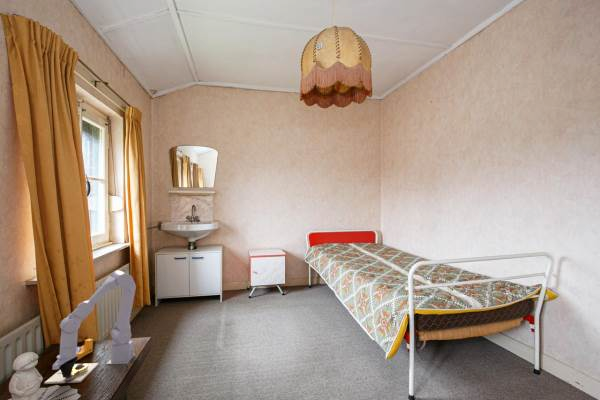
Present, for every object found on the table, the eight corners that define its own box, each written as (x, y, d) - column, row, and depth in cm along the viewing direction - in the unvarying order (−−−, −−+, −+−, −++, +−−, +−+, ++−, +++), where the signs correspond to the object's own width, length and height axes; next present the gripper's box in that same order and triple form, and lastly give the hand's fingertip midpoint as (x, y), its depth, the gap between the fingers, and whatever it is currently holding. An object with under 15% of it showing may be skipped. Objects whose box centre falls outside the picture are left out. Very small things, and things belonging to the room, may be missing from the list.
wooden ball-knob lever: (76, 367, 124) (77, 363, 124) (90, 366, 125) (90, 363, 125) (59, 383, 113) (59, 379, 113) (74, 382, 114) (74, 378, 114)
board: (98, 364, 128) (99, 356, 129) (80, 382, 116) (81, 373, 116) (66, 366, 126) (67, 357, 127) (44, 383, 114) (45, 374, 114)
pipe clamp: (84, 350, 140) (85, 338, 140) (92, 351, 140) (93, 339, 140) (62, 363, 128) (63, 350, 129) (70, 364, 128) (71, 351, 128)
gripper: (70, 337, 124) (68, 367, 123) (45, 354, 109) (42, 388, 109) (87, 337, 125) (85, 366, 124) (64, 353, 110) (62, 387, 110)
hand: (66, 376), depth 117 cm, fingers closed
